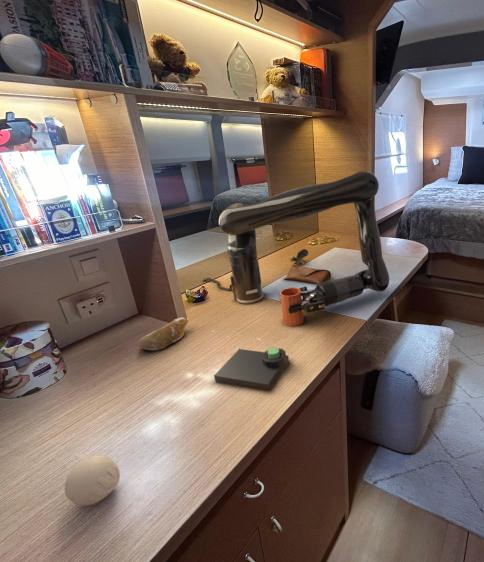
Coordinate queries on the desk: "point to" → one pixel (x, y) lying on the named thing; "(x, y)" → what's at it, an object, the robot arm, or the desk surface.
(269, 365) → the scale
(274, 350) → the scale button
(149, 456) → the desk surface
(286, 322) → the cup
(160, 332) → the stone
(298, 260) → the eagle figurine
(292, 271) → the sunglasses case
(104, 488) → the tan rounded lump
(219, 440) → the desk surface
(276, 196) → the robot arm
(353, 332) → the desk surface
